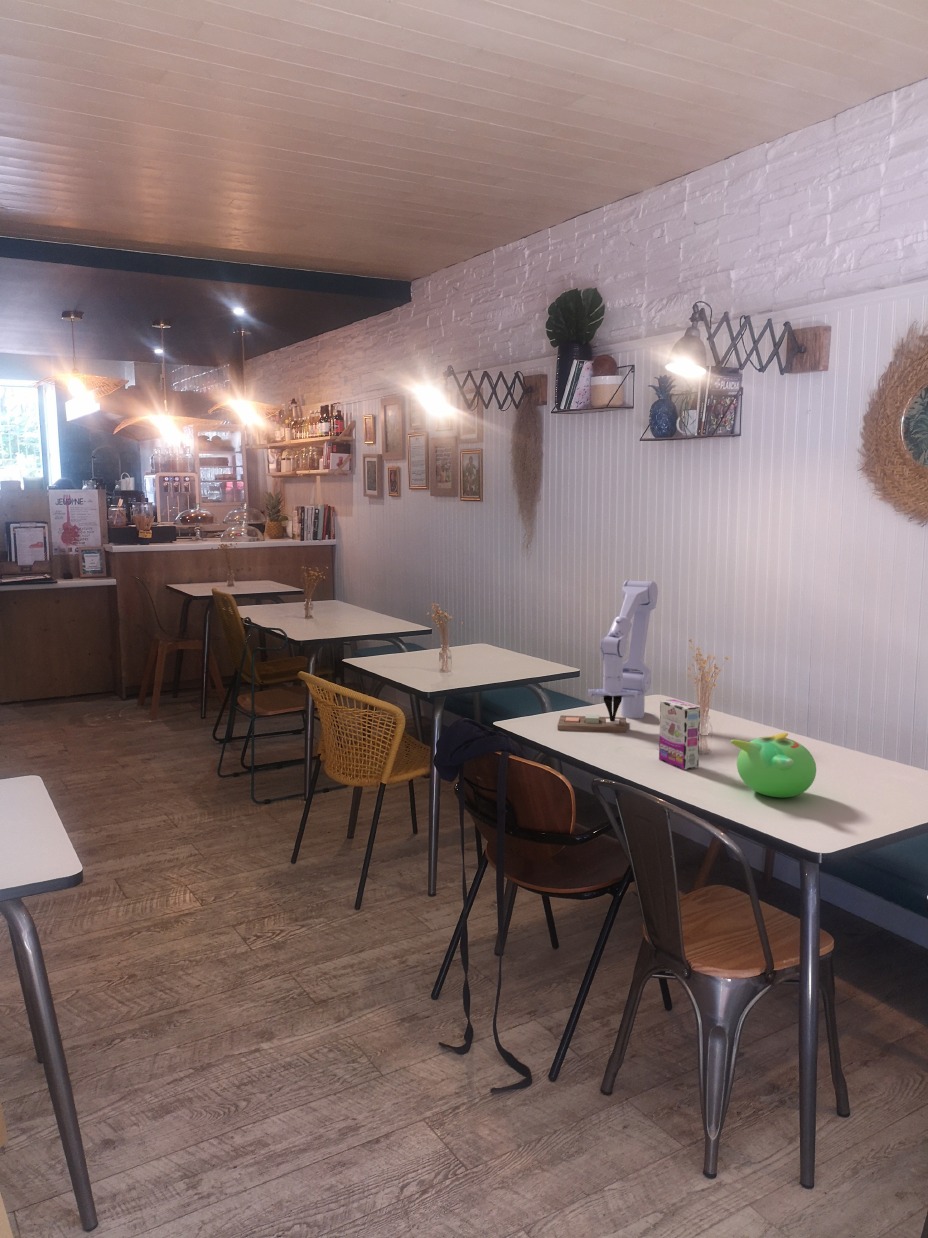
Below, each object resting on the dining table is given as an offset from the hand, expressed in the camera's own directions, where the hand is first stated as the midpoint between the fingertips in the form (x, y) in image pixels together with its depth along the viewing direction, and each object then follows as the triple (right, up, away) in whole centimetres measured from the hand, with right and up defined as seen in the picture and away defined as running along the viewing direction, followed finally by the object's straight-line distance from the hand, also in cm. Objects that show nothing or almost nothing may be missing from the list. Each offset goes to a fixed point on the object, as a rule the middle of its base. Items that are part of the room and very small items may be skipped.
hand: (612, 720), depth 274 cm
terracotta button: (-12, -3, +3) cm, 12 cm away
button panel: (-6, -3, +2) cm, 7 cm away
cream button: (0, -3, 0) cm, 3 cm away
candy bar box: (+12, -8, -32) cm, 35 cm away
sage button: (-6, -2, +1) cm, 6 cm away
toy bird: (+29, -12, -57) cm, 65 cm away
